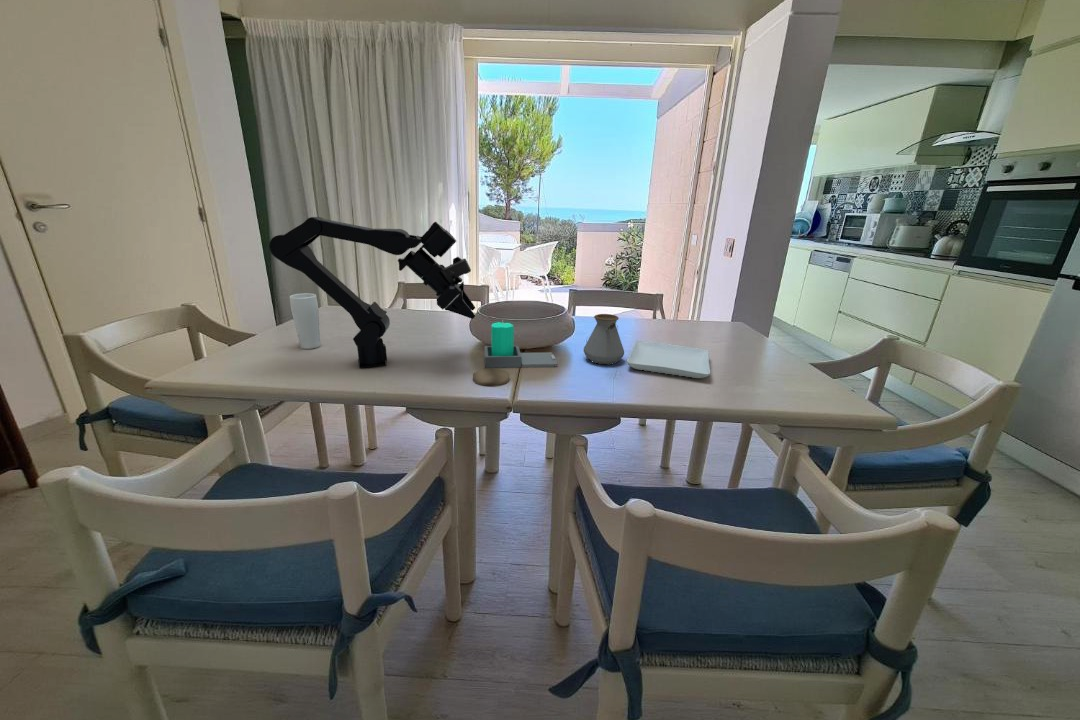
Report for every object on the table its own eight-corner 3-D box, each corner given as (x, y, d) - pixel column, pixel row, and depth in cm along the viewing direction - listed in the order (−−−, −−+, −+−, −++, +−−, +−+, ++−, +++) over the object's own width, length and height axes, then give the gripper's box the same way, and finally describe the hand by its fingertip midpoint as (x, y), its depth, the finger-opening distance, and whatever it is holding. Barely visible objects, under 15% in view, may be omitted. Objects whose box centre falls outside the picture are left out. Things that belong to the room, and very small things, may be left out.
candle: (512, 365, 116) (512, 322, 112) (490, 364, 116) (489, 321, 112) (514, 358, 122) (514, 317, 117) (492, 357, 122) (492, 316, 118)
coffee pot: (581, 352, 128) (585, 303, 123) (620, 354, 128) (625, 305, 123) (585, 380, 108) (590, 322, 103) (631, 382, 108) (638, 324, 103)
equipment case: (485, 367, 114) (485, 357, 113) (484, 355, 123) (484, 345, 122) (557, 366, 116) (557, 356, 115) (551, 355, 125) (552, 345, 124)
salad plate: (709, 385, 109) (711, 373, 107) (624, 373, 115) (626, 360, 114) (707, 359, 128) (709, 348, 126) (634, 350, 134) (636, 339, 133)
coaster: (479, 388, 101) (479, 383, 101) (468, 375, 109) (468, 370, 108) (514, 383, 105) (514, 378, 104) (502, 370, 112) (502, 366, 112)
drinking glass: (300, 344, 127) (291, 293, 122) (325, 342, 129) (318, 292, 124) (295, 351, 121) (286, 298, 116) (321, 349, 123) (314, 297, 118)
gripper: (448, 251, 98) (497, 299, 103) (452, 244, 115) (494, 285, 121) (415, 285, 100) (465, 331, 105) (424, 273, 117) (466, 312, 122)
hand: (474, 313), depth 113 cm, fingers open, 9 cm apart
